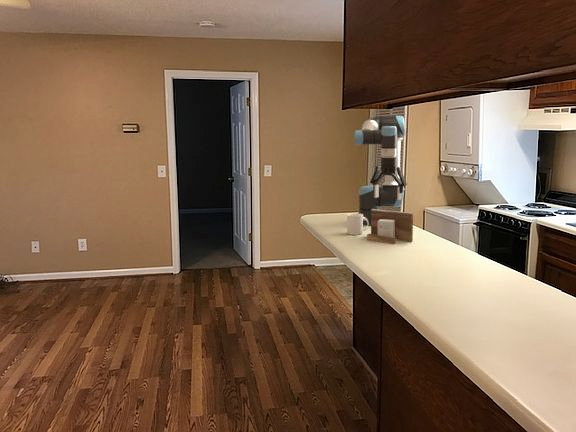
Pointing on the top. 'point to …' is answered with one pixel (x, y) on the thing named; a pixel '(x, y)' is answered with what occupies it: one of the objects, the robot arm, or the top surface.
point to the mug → (355, 224)
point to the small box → (386, 227)
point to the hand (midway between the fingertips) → (387, 198)
